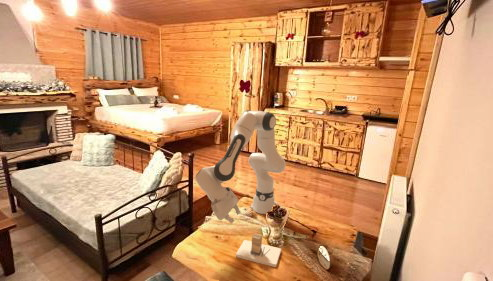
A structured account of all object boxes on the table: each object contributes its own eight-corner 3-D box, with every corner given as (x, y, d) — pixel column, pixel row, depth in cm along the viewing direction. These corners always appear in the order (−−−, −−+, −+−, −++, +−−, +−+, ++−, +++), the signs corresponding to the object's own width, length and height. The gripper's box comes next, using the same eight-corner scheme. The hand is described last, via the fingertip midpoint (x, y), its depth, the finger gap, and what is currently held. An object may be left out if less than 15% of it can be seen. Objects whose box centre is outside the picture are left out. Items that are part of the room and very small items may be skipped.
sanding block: (253, 248, 130) (254, 232, 128) (261, 250, 129) (262, 234, 127) (250, 253, 126) (251, 237, 124) (259, 255, 124) (260, 239, 123)
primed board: (244, 242, 137) (244, 239, 137) (281, 251, 131) (281, 248, 131) (235, 256, 125) (235, 254, 125) (275, 267, 119) (276, 264, 119)
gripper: (214, 201, 119) (233, 224, 118) (230, 185, 138) (246, 206, 137) (205, 208, 121) (223, 231, 120) (222, 192, 140) (238, 212, 139)
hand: (236, 217), depth 129 cm, fingers open, 8 cm apart
